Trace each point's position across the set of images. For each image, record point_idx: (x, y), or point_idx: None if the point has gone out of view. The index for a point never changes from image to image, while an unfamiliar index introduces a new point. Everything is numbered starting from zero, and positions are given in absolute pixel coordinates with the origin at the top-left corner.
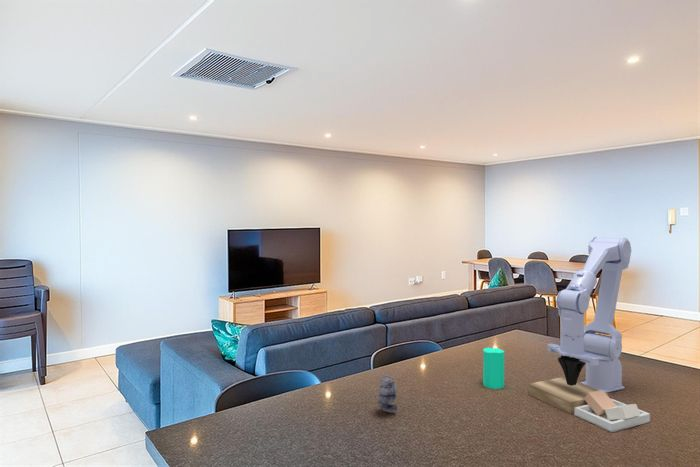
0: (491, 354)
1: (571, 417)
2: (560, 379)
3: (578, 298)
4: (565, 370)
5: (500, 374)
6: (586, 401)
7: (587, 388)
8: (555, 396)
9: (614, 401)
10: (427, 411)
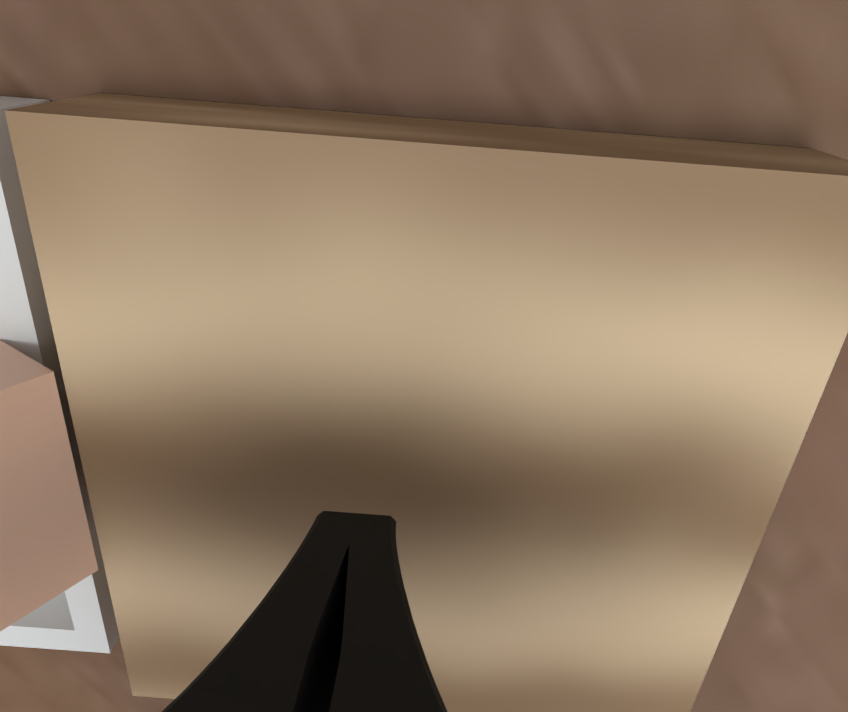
0: None
1: (8, 5)
2: (659, 652)
3: None
4: (359, 691)
5: None
6: (17, 358)
7: None
8: (310, 130)
9: (53, 625)
10: None
